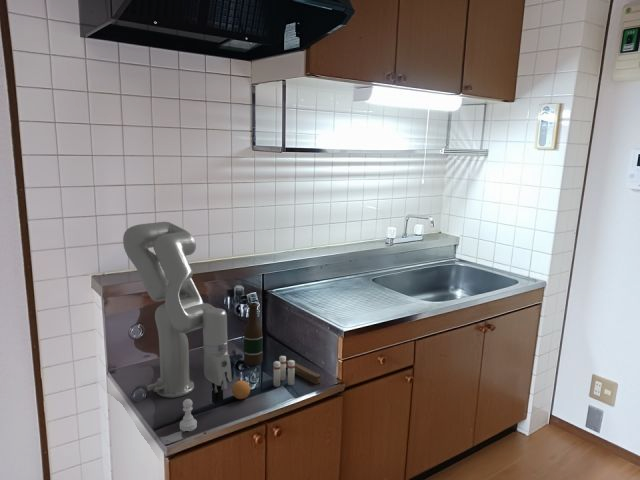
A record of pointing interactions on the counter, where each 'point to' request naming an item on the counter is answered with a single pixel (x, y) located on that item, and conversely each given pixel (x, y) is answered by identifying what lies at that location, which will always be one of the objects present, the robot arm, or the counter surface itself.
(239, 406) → the counter surface
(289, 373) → the pin
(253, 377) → the counter surface
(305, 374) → the back rail
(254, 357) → the beer bottle
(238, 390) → the ball
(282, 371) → the pin
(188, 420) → the chess pawn
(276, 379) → the front pin
